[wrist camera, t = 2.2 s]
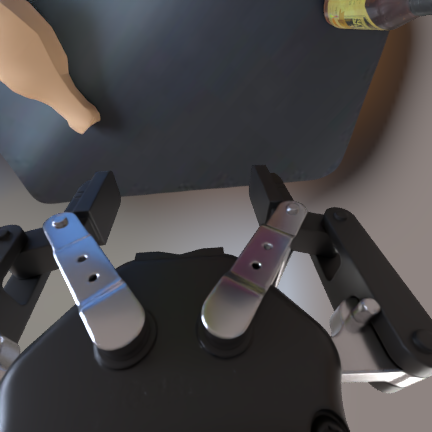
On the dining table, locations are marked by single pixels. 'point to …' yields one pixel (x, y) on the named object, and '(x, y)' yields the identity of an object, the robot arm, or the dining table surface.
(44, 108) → the dining table surface
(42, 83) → the squash
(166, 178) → the dining table surface
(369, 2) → the sauce bottle
